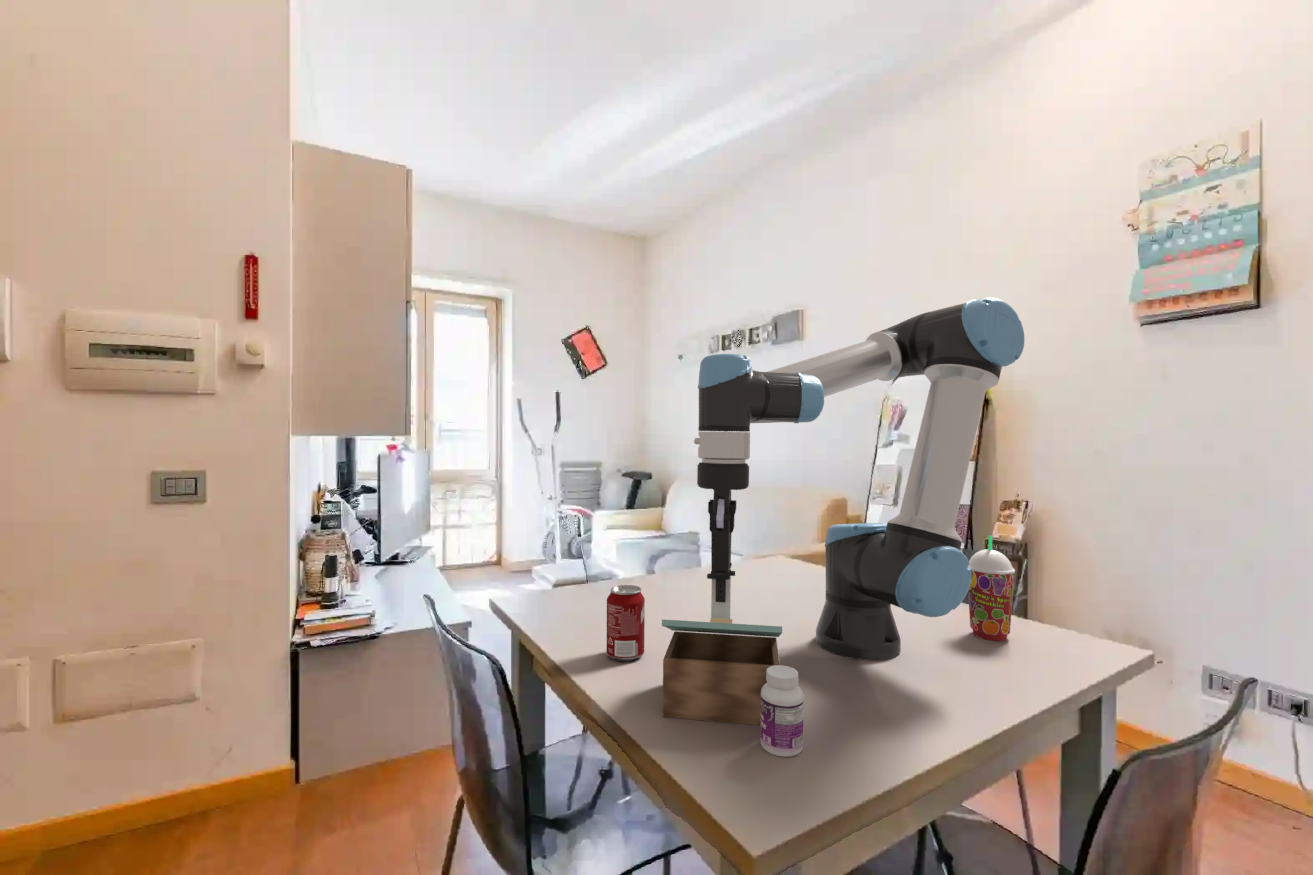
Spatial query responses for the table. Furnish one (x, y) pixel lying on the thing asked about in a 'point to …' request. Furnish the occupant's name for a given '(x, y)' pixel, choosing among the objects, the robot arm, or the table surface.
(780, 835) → the table surface
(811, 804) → the table surface
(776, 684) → the pill bottle
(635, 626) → the soda can
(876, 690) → the table surface
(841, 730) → the table surface
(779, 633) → the lid
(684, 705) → the keepsake box
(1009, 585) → the smoothie
